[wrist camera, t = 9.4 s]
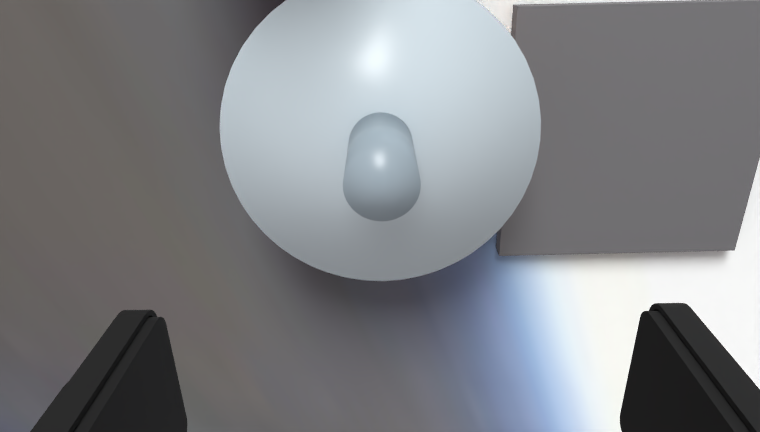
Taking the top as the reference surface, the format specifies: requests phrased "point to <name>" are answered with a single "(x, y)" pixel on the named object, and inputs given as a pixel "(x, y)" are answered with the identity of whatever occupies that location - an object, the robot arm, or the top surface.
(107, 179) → the top surface
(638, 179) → the mat
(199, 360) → the top surface
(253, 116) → the lid
